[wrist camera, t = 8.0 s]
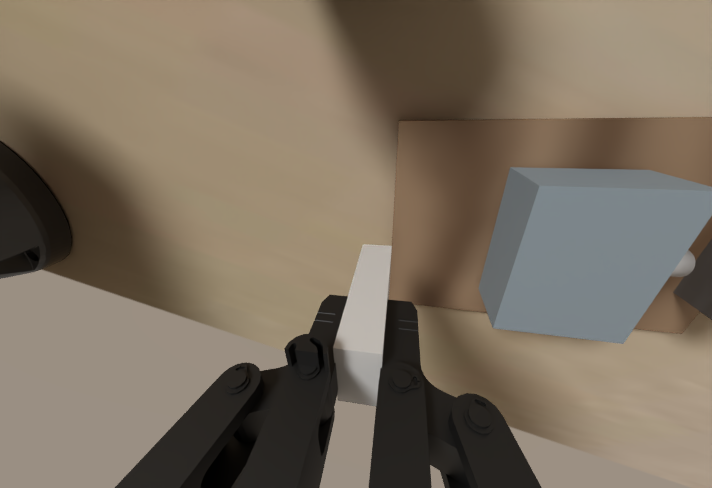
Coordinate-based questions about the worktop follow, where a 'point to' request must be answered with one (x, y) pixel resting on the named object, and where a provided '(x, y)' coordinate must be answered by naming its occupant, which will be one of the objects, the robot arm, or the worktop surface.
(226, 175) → the worktop surface
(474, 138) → the base
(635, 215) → the block
